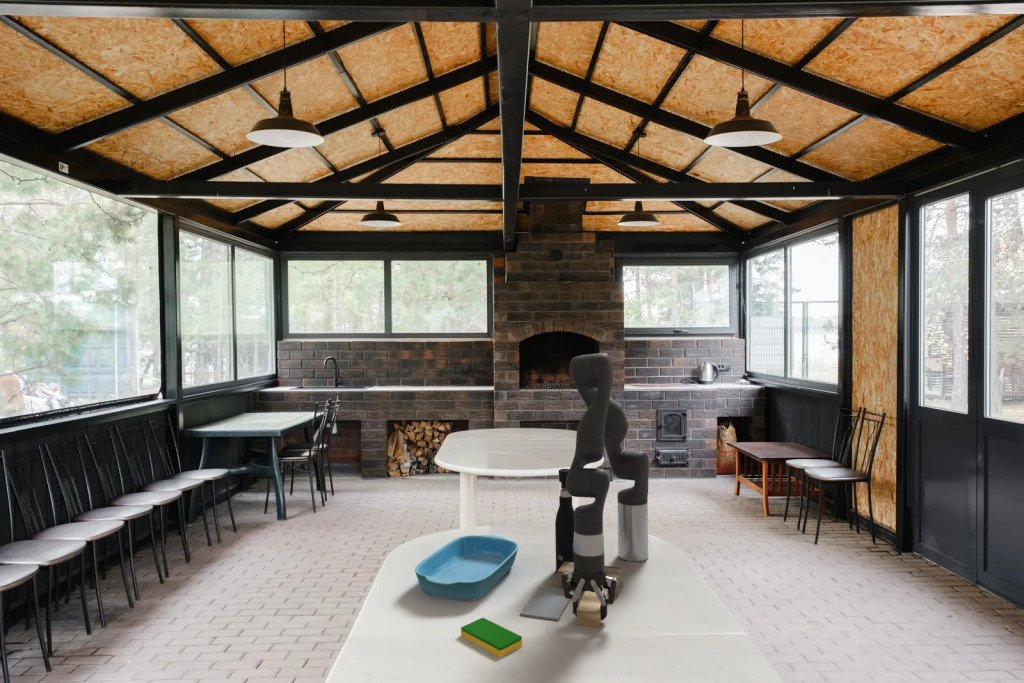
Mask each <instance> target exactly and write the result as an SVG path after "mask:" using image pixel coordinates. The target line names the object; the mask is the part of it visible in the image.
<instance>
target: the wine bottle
mask: <svg viewBox="0 0 1024 683" xmlns="http://www.w3.org/2000/svg"><path fill="white" fill-rule="evenodd" d="M569 469H570V468H560V469H558V482H559V483H560V486H561V487H560V488H561V489H560V491H559V497H558V498H559V500H558V502H559V503H558V504H559V505H558V508H557V513H556V515H555V523H554V524H555V527H554V528H555V534H554V535H555V571H556V573H557V574H558V570H559V568H560V567H561V565H562V564H563V562H564V561H566V562H574V549H573V539H574V511H575V508H574V507H573V496H571V495H570V494H569V493H568V491H567V489H566V478H567V475H568V472H569Z"/></svg>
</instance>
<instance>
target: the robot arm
mask: <svg viewBox="0 0 1024 683" xmlns="http://www.w3.org/2000/svg"><path fill="white" fill-rule="evenodd" d="M614 372H615V371H614V364H613V361H612V359H611V356H610V355H609V354H608V353H606V352H605V353H604V352H599V353H590V354H589V353H588V354H581V355H577V356H575V357H572V359H570V362H569V373H570V377H571V379H572V382H573V385H574V387H575V388H576V390H577V392H578V394H579V396H580V397H581V399H582V401H583V402H584V404H585V406H586V408H587V410H585V412H584V414H583V415H582V416H581V418H580V421H579V422H578V425H577V428H576V436H575V438H576V439H575V451H574V455H573V459H572V462H571V465H570V468H568V469H569V472H568V475H567V478H566V489H567V491H568V493H569V494H570V495H571V496H572V497H574V498H589V499H590V498H591V499H592V498H593V499H594V501H593V502H592V503H588V504H587V503H586V504H583V505H582V504H581V505H579V506H577V507H575V508H574V539H573V549H574V571H573V572H567V571H564V573H563V574H562V576H561V578H562V584H563V589H564V595H565V598H566V599H568V598H569V599H570V601H572V613H573V615H574V617H575V618H577V608H578V606H579V603H580V601H581V599H580V595H581V593H582V592H585V591H590V592H595V593H596V595H597V597H598V598H599V600H600V603H601V605H600V618H601V620H602V621H605V619H606V618H607V616H608V605H613V604H614V601H615V599H616V597H615V594H616V588H617V582H618V578H617V577H613V578H612V577H608V576H607V575H606V573H605V566H606V563H605V561H606V560H605V535H604V508H605V503H606V500H607V495H608V492H609V489H610V483H611V479H610V475H609V474H608V471H606V470H605V469H604V468H599V467H598V468H596V467H594V468H593V467H592V468H591V467H590V468H588V467H586V465H589V464H592V463H597V462H599V461H601V460H602V459H603V457H604V452H606V454H607V455H606V456H607V460H608V461H609V466H610V468H611V471H612V474H613V475H614V476H615V477H616V478H617V479H619V480H620V479H621V480H626V481H634V484H633V486H632V487H629V488H625V489H624V488H623V489H621V490H619V491H618V492H617V539H618V540H617V544H618V545H617V554H618V555H617V556H618V557H619V558H620V559H621V560H623V561H628V562H643V561H646V560H648V559H649V516H648V514H649V512H648V511H649V510H648V509H649V508H648V507H649V506H648V504H649V503H648V501H649V500H648V499H649V498H648V496H649V477H650V476H649V475H650V474H649V473H650V472H649V471H650V461H649V460H650V459H649V455H648V454H647V452H646V451H643V450H636V449H635V450H634V449H626V448H625V449H624V448H623V447H622V446H621V444H622V442H623V441H624V439H625V438H626V436H627V434H628V430H629V423H628V422H629V421H628V420H627V417H626V415H625V412H624V410H623V408H622V406H621V405H620V404H619V403H618V402H617V401H616V400H614V399H613V398H611V396H612V395H611V394H612V390H613V384H614V375H615V373H614ZM604 450H605V451H604ZM572 577H573V579H574V580H575V584H576V585H577V586H576V589H575V590H574V593H573V592H572V591H571V590H572V585H571V582H572V581H571V578H572ZM605 581H606V582H607V583H608V586H607V587H609V588H610V589H609V592H608V597H607V596H606V594H605V591H604V589H605V588H604V585H603V584H604V583H605Z"/></svg>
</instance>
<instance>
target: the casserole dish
mask: <svg viewBox="0 0 1024 683" xmlns="http://www.w3.org/2000/svg"><path fill="white" fill-rule="evenodd" d="M518 550H519V544H518V543H517V542H516V541H514V540H511V539H510V540H509V539H507V538H505V537H504V536H501V535H493V534H480V535H477V534H476V535H475V534H473V535H463V536H460V537H459V536H458V537H457V538H455V539H453V540H451V541H449V542H448V543H446V544H444V545H443V546H442V547H440V548H439V549H438V550H436V551H434V552H433V553H432V554H430V555H429V556H427V557H425V559H423V560H421V561H420V562H419V563H418V564H417V565H416V566H415V567H414V573H415V575H416V578H417V581H418V584H419V586H420V587H421V589H422V591H423V592H425V593H426V594H427V595H429V596H432V595H433V596H432V597H436V596H437V598H441V597H443V599H447V598H448V599H449V600H453V599H454V600H455V601H460V600H461V602H462V601H463V602H469V600H471V601H474V599H475V600H478V599H479V598H481V597H482V596H484V595H485V594H486V593H488V592H490V590H491V589H492V588H493V587H494V586H496V584H497V583H498V582H499V581H500V580H501V579H502V578H503V577H504V576H506V574H507V573H508V572H509V571H510V570H511V568H512V567H513V565H514V564H515V561H516V557H517V554H518Z"/></svg>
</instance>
